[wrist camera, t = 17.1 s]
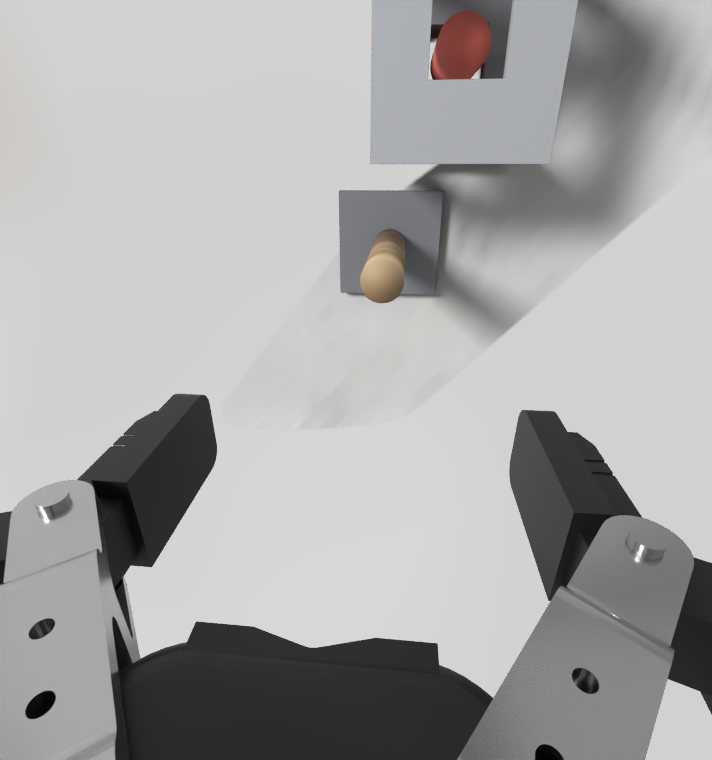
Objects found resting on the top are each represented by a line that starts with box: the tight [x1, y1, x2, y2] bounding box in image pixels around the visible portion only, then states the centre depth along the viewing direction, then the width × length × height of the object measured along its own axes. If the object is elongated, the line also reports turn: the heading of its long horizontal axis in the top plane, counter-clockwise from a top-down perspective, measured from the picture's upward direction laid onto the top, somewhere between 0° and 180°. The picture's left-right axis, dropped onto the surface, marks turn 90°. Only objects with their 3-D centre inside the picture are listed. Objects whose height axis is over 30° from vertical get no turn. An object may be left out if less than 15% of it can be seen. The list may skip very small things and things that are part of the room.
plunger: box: [431, 10, 491, 80], centre depth 28 cm, size 3×3×6 cm
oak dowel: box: [360, 229, 405, 303], centre depth 30 cm, size 2×2×12 cm
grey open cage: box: [370, 0, 578, 164], centre depth 27 cm, size 12×10×9 cm
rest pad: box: [339, 190, 443, 295], centre depth 36 cm, size 8×8×1 cm
